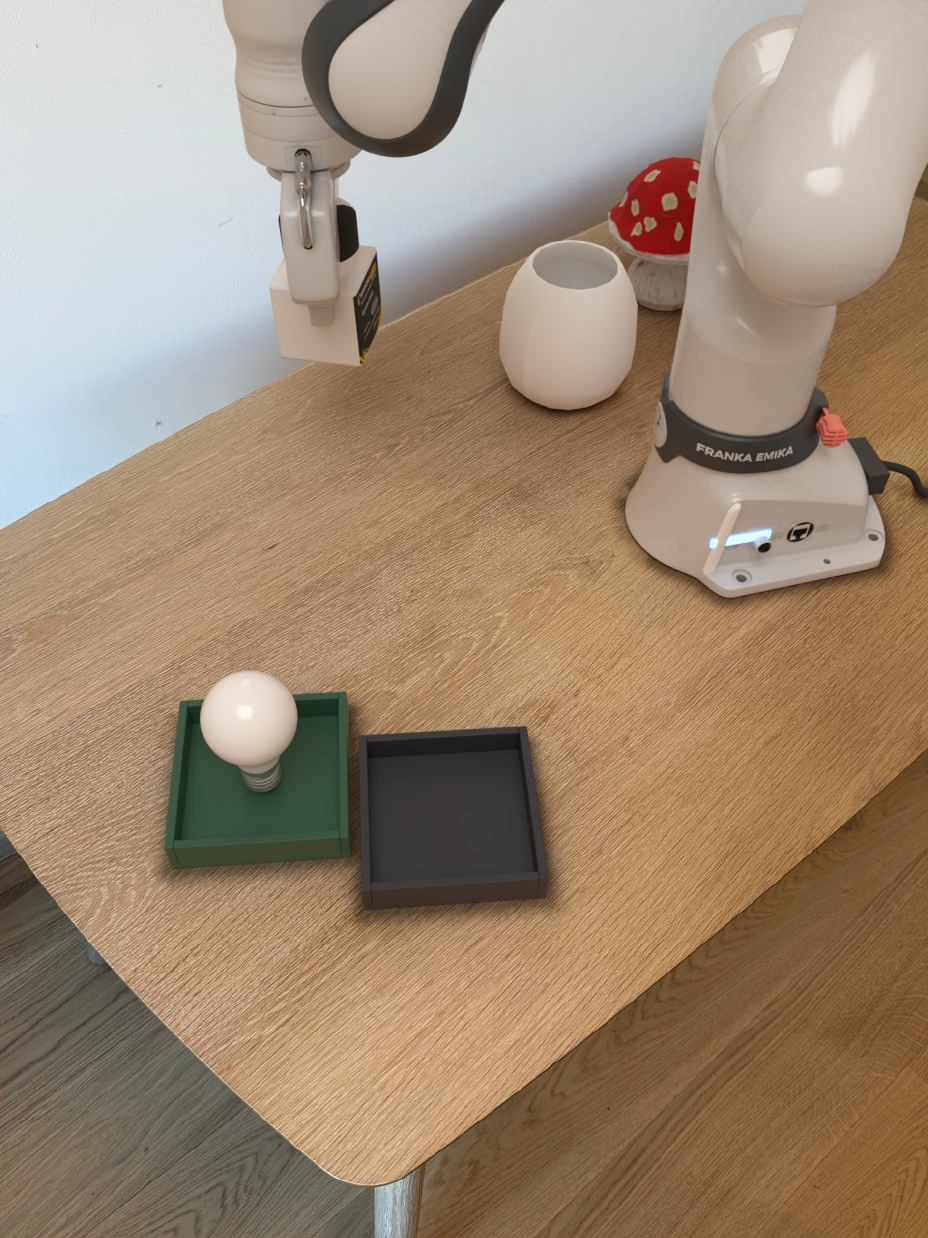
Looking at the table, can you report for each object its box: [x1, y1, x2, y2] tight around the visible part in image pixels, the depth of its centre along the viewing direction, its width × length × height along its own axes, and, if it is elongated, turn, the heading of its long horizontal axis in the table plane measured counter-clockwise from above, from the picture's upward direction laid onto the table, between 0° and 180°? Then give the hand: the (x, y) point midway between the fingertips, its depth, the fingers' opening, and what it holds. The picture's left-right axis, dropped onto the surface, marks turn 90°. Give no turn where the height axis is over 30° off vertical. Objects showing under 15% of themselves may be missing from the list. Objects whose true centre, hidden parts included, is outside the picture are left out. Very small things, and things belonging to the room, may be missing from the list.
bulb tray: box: [163, 691, 352, 869], centre depth 78 cm, size 12×12×3 cm
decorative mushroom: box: [607, 156, 701, 312], centre depth 115 cm, size 14×14×15 cm
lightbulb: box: [200, 669, 298, 792], centre depth 75 cm, size 6×6×11 cm
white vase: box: [498, 239, 639, 411], centre depth 105 cm, size 13×13×14 cm
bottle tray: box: [357, 725, 549, 911], centre depth 76 cm, size 12×12×3 cm
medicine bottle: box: [268, 196, 383, 368], centre depth 89 cm, size 7×7×12 cm
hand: (323, 288), depth 90 cm, fingers closed on medicine bottle, 8 cm apart
